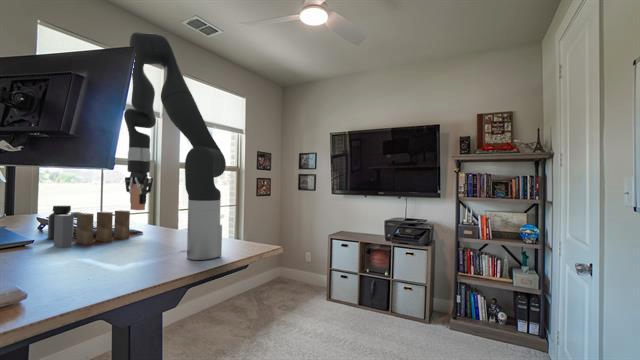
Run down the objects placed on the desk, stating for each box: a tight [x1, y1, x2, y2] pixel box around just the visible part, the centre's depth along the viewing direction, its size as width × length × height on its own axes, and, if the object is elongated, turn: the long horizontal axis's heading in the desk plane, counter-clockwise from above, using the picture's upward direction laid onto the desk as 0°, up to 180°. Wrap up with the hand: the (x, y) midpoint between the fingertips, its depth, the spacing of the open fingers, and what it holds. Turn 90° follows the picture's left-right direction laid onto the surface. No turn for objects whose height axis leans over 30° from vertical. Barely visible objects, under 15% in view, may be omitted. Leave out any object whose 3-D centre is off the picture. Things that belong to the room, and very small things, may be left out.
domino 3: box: [113, 209, 131, 240], centre depth 109 cm, size 2×5×10 cm, turn 65°
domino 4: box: [130, 184, 146, 211], centre depth 114 cm, size 2×5×10 cm, turn 65°
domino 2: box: [95, 211, 114, 243], centre depth 104 cm, size 2×5×10 cm, turn 65°
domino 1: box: [75, 212, 95, 246], centre depth 98 cm, size 2×5×10 cm, turn 65°
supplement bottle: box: [47, 205, 75, 241], centre depth 104 cm, size 7×7×12 cm
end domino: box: [53, 215, 73, 249], centre depth 93 cm, size 2×5×10 cm, turn 65°
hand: (138, 203), depth 114 cm, fingers closed on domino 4, 5 cm apart
